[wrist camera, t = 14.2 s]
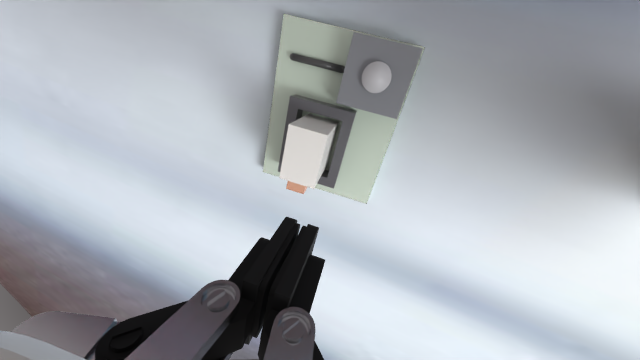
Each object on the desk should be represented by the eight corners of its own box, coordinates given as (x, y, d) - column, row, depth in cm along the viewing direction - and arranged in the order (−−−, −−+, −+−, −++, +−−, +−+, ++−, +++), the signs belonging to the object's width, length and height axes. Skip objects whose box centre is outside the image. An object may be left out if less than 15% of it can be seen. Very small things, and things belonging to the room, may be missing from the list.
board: (422, 48, 26) (431, 42, 22) (366, 198, 34) (366, 215, 30) (288, 17, 27) (272, 5, 23) (266, 168, 36) (253, 180, 32)
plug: (338, 122, 29) (327, 135, 22) (325, 171, 32) (312, 196, 25) (308, 113, 30) (288, 124, 22) (298, 162, 33) (277, 185, 25)
